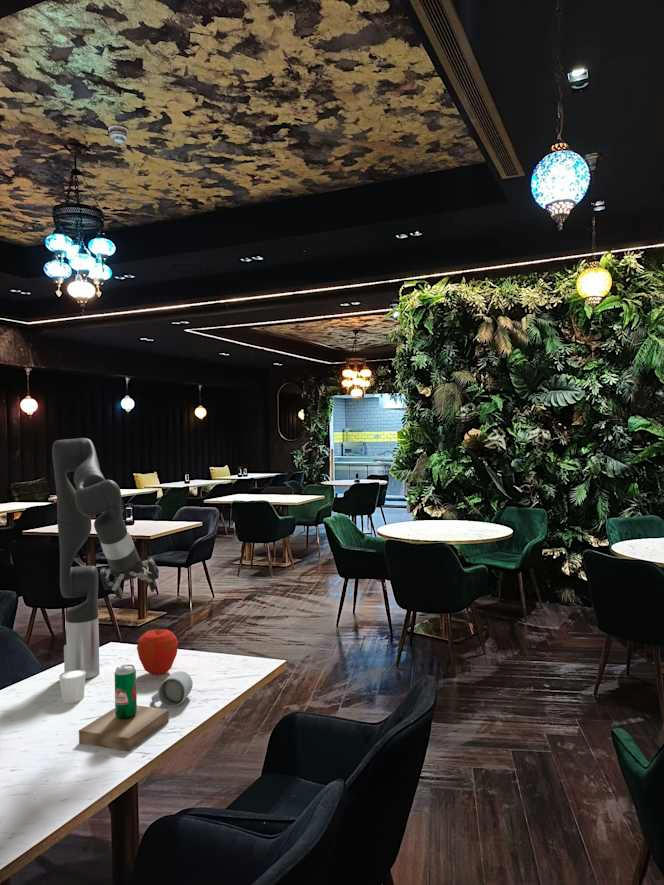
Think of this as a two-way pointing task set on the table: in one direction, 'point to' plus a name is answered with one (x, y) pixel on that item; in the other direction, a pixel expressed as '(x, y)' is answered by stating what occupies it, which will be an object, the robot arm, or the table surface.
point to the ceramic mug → (174, 689)
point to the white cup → (72, 686)
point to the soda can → (125, 692)
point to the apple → (157, 651)
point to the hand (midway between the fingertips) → (137, 593)
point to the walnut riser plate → (123, 728)
